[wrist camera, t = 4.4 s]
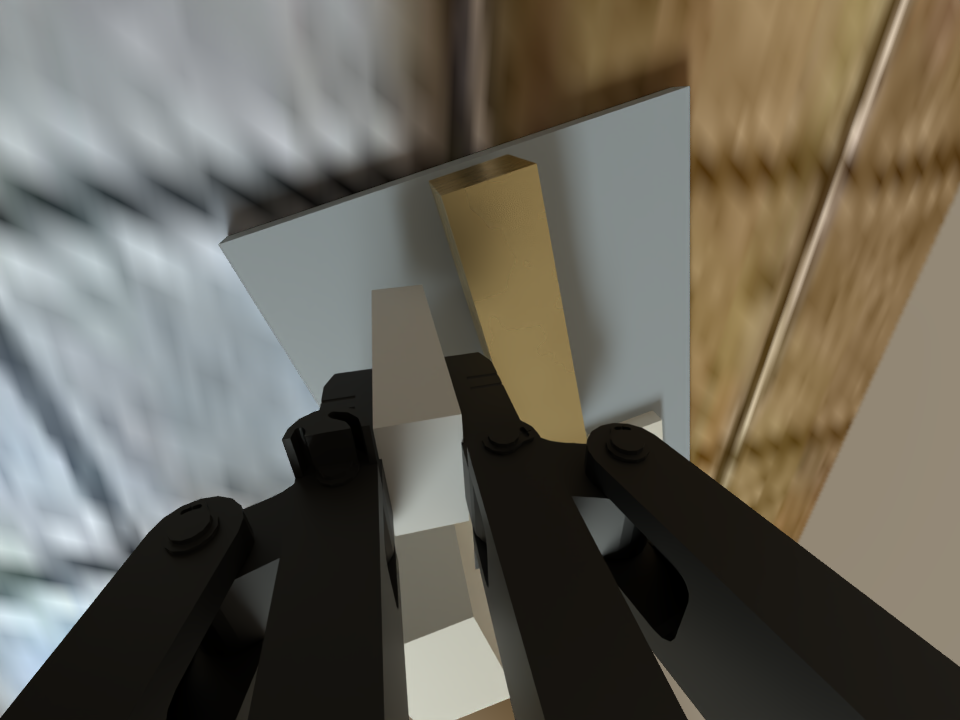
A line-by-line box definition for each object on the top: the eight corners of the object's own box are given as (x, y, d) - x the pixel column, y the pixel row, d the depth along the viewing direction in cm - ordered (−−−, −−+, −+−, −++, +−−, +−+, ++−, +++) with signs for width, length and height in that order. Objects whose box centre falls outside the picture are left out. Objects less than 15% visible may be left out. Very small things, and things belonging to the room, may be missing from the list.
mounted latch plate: (227, 236, 14) (24, 423, 6) (671, 87, 15) (1062, 59, 7) (458, 619, 28) (496, 833, 20) (680, 532, 29) (806, 704, 21)
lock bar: (589, 461, 20) (616, 504, 18) (510, 491, 20) (528, 538, 18) (531, 146, 13) (564, 154, 11) (404, 189, 13) (411, 205, 10)
